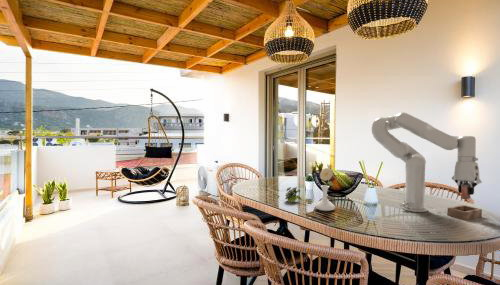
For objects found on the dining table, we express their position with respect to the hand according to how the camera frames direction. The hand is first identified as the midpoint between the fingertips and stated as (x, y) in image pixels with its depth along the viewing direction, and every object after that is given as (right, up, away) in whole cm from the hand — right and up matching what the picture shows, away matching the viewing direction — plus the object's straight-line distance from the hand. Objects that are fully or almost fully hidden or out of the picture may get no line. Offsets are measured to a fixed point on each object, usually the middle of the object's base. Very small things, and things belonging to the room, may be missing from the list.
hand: (465, 193), depth 149 cm
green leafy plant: (-86, -12, +33) cm, 93 cm away
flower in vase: (-71, -12, +13) cm, 73 cm away
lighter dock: (0, -12, +1) cm, 12 cm away
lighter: (0, -3, 0) cm, 3 cm away
